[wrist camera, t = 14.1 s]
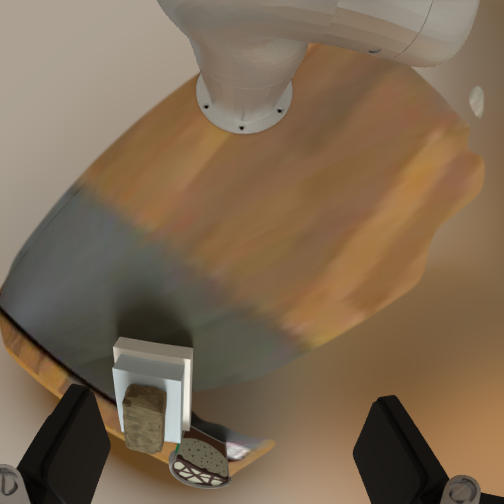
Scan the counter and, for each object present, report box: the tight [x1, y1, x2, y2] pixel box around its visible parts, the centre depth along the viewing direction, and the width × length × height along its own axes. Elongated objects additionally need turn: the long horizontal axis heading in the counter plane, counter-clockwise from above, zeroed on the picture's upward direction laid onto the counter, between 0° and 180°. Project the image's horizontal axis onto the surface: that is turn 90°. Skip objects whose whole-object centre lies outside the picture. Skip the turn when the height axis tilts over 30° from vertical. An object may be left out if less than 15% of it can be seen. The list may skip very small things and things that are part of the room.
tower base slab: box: [113, 337, 193, 431], centre depth 44 cm, size 16×12×4 cm
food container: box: [169, 425, 232, 489], centre depth 45 cm, size 12×6×10 cm, turn 48°
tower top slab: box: [112, 354, 185, 443], centre depth 40 cm, size 14×10×4 cm
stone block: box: [122, 383, 167, 454], centre depth 36 cm, size 6×12×5 cm, turn 169°
